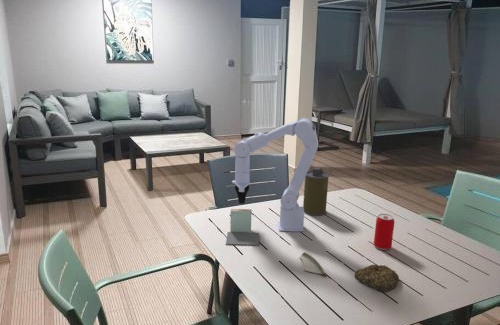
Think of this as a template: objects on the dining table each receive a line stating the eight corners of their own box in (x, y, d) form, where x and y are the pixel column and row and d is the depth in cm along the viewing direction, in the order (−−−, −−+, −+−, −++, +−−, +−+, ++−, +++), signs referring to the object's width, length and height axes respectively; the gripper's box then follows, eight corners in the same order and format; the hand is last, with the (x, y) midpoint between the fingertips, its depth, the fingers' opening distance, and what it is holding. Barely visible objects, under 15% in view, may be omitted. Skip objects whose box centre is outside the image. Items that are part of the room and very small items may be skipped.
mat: (258, 233, 154) (258, 232, 154) (259, 245, 145) (259, 244, 145) (227, 232, 154) (227, 231, 154) (225, 244, 145) (225, 243, 145)
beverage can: (392, 245, 147) (396, 215, 144) (390, 252, 142) (394, 221, 139) (374, 241, 150) (378, 211, 147) (372, 248, 144) (375, 217, 141)
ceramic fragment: (327, 277, 126) (328, 266, 125) (313, 281, 124) (314, 269, 123) (304, 258, 138) (304, 247, 137) (290, 260, 136) (291, 250, 135)
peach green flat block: (251, 230, 157) (251, 209, 154) (251, 233, 155) (251, 211, 152) (230, 230, 157) (230, 208, 154) (230, 232, 155) (230, 210, 153)
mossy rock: (381, 296, 116) (383, 281, 115) (348, 277, 126) (350, 263, 125) (407, 282, 124) (409, 268, 123) (374, 265, 133) (375, 252, 132)
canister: (322, 217, 171) (325, 172, 166) (299, 213, 175) (301, 169, 170) (329, 209, 180) (332, 166, 175) (306, 205, 185) (309, 163, 179)
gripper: (233, 165, 166) (232, 196, 169) (231, 176, 152) (230, 209, 155) (250, 166, 166) (249, 196, 169) (249, 176, 152) (249, 209, 155)
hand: (241, 202), depth 162 cm, fingers closed
